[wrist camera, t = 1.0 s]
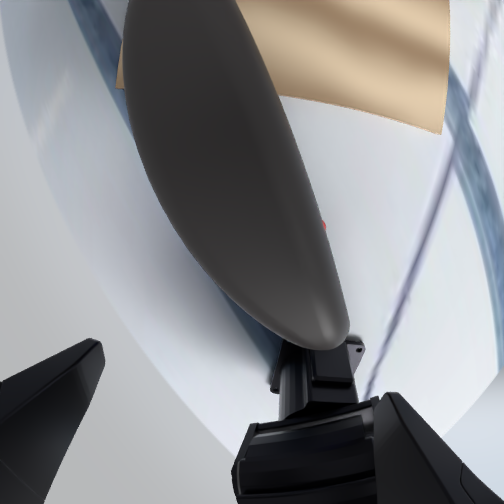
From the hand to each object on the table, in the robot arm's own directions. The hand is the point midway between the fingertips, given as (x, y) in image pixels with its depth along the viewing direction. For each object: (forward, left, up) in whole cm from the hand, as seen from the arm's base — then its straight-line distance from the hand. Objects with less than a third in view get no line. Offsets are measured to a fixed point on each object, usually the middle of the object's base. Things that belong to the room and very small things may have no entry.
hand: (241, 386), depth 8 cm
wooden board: (+15, 0, -12) cm, 19 cm away
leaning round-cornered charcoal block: (+7, 0, -12) cm, 13 cm away
